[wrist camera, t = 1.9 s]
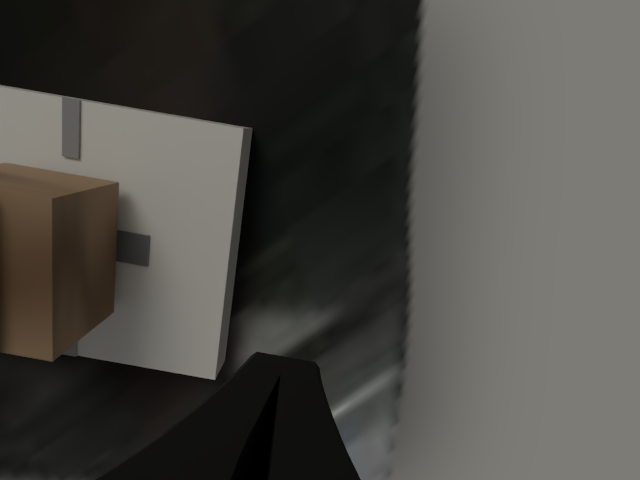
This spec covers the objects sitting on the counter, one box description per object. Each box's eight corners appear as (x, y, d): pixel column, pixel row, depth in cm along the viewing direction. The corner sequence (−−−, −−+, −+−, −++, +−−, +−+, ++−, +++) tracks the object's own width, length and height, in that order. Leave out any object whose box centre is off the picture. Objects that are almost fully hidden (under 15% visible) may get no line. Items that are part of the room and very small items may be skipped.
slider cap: (114, 312, 16) (38, 373, 12) (10, 294, 16) (-99, 348, 12) (119, 182, 15) (36, 202, 11) (6, 162, 15) (-117, 175, 11)
